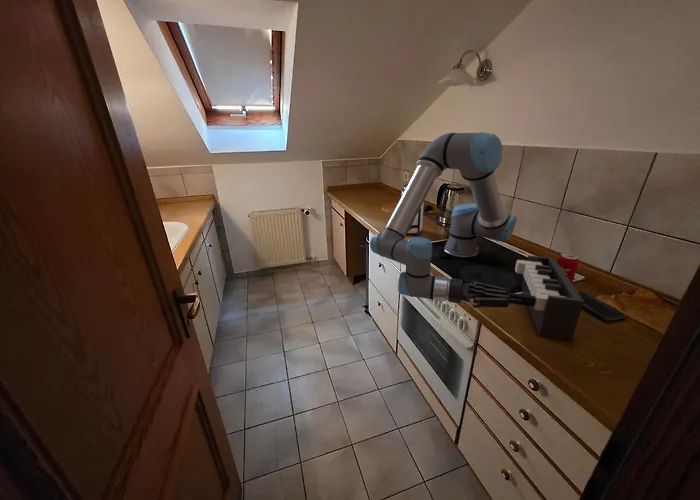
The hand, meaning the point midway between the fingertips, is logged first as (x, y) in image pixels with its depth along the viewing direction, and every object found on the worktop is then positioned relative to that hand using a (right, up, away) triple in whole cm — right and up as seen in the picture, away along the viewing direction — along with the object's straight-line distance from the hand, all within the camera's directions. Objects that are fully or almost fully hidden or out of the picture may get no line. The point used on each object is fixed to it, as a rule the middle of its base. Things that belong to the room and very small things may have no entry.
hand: (534, 301), depth 86 cm
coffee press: (-18, +24, +83) cm, 88 cm away
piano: (+10, -5, +12) cm, 16 cm away
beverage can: (+27, +1, +26) cm, 37 cm away
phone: (+27, -4, +12) cm, 30 cm away
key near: (+4, -2, 0) cm, 4 cm away
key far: (+10, +7, +20) cm, 23 cm away
